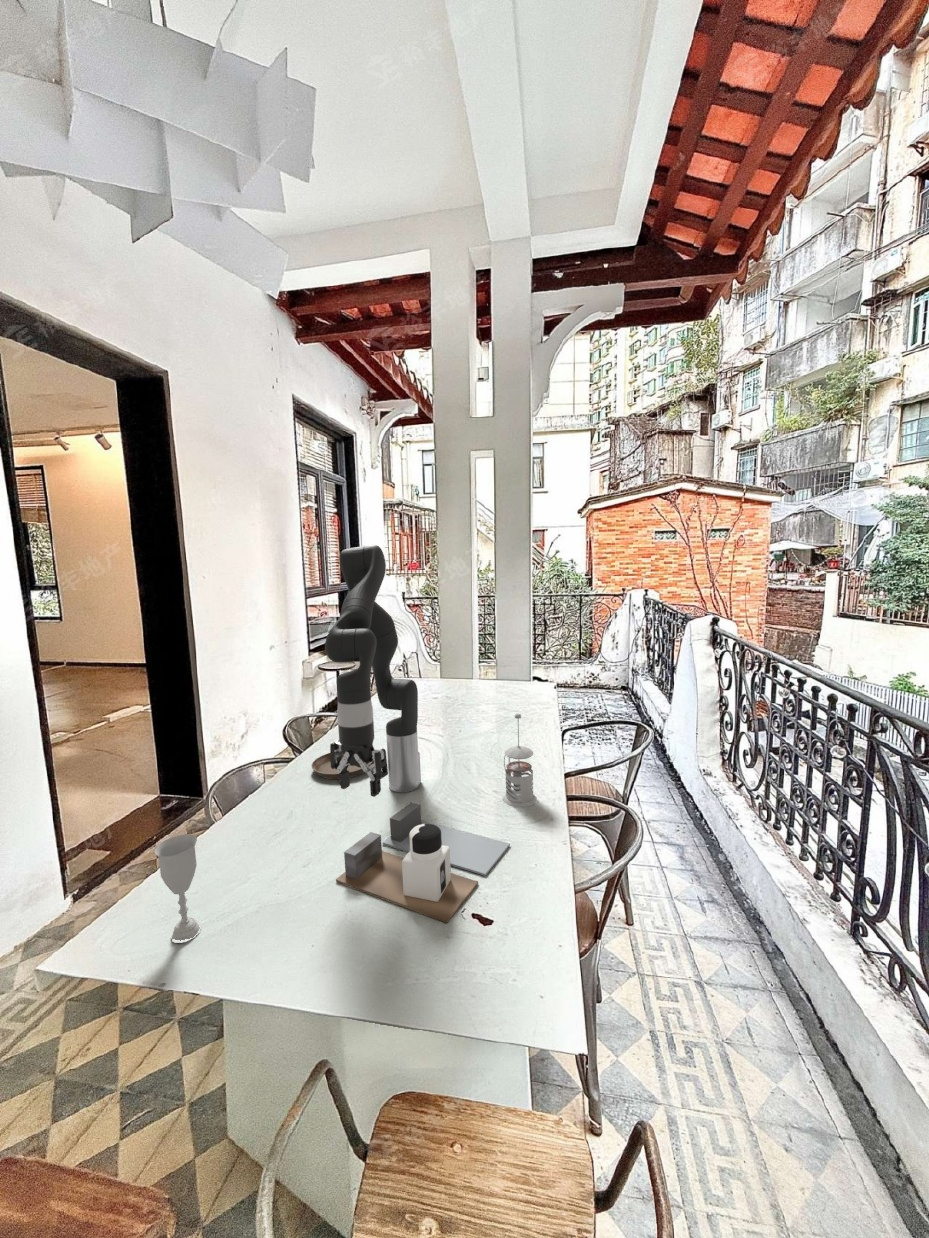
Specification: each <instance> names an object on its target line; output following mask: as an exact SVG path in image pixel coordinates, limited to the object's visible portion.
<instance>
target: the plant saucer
mask: <svg viewBox="0 0 929 1238" xmlns="http://www.w3.org/2000/svg"><path fill="white" fill-rule="evenodd" d="M343 756H344V755H343V753H342V758H343ZM373 757H374V756H373ZM336 762H337V758H336ZM370 765H371V763H370V762H369V763H368V764H367V766H370ZM311 769H312V771H313V772H314V773H316V775H318V776H319V777H321V778H324V779H328V780H339V773H338V772H337V770H336V769H335V768H334V769H332V768H331V760H330V752H328V753H325V754H322V755H320V756H319V757H317V758H315V759H314V760H313V761H312V763H311ZM347 770H349V779H350V778H355V777H357V776H360V775H362V774H363V773H365V772H364V771H363V769H362V768H360V767H357V766H351V765H350V766H349V768H348V769H347Z"/></svg>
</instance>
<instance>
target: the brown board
mask: <svg viewBox="0 0 929 1238" xmlns="http://www.w3.org/2000/svg"><path fill="white" fill-rule="evenodd" d="M382 845H383V843H382V835H381V834H379V833H375V832H373V831H372V832H371V831H370V832H369V833H367V834H366V835H365V836H364V837H362V838H361V839H359V840H358V841H357V842H355V843H354V844H353V845H351V846H350V847H349V848H348V849H346V850H345V851H344V852H343V853H344V854H343V855H344V856H343V857H344V868H345V871H344V872H343V873H342V874H341V875H339V876H338V877H337V878H335V881H336V883H338V884H342V885H344V886H348V887H349V888H351V889H355V890H358V891H360V892H363V893H366V894H367V895H368V894H369V895H372V896H373V897H376V898H379V899H382V900H385V901H387V902H390V903H392V904H395V905H398V906H400V907H403V908H405V909H408V910H411V911H414V912H416V913H419V914H422V915H423V916H426V917H429V918H432V919H435V920H438V921H440V922H443V923H448V922H449V921H450V920H451V918H452V917H453V916H454V915H455V914H456V912H458V911H457V910H459V908H460V907H461V906H462V905H463V903H464V902H465V901H466V900H467V899H468V897H469V896H470V895H471V893H472V892H473V891H474V890H475V889H476V887H477V886H478V885H479V881H477V880H475V879H472V878H468V877H464V876H462V875H459V874H455V873H453V872H451V880H450V882H449V884H448V885H447V887H446V889H445V891H444V892H443V894H442V896H441V898H440V899H439V901H438V902H435V901H430V900H425V899H420V898H415V897H410V896H405V895H404V891H403V873H402V860H403V859H404V858H405V857H402V856H399V855H395V854H392V853H390V852H386V851H383V848H382Z"/></svg>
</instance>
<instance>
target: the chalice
mask: <svg viewBox="0 0 929 1238" xmlns="http://www.w3.org/2000/svg"><path fill="white" fill-rule="evenodd" d="M197 841H198V838H197V836H195V835H194V834H187V833H186V834H178V835H175V836H172V837H170V838H168V839H165V840H164V841H162V842H160V843H158V845H157V846H156V848H155V849H154V854H155V855H156V856H157V858H158V865H159V872H160V873H159V874H160V878H161V879H162V881H163V882H164V884H165V886H166V887H167V888H168V889H169V890H170V891H171V893H172V894H174V895H178V900H177V904H178V905H179V907H180V908H179V910H178V914H179V915H180V916H181V920H179V921H178V922H177V923H176V924H175V926H174V928H173V929H174V930H173V931H172V935H171V937H172V939H175V940H180V941H181V940H185V939H190V938H193V937H194V936H195V935H196V934H197V933H198V931H199V929H200V927H201V926H200V925H199V923H198V922H197V920H196V919H195V918H192V917H188V912H189V909H190V908H189V907H187V905H186V904H187V901H188V898H186V895H185V893H186V892H187V891H188V890H189V889H190V888H191V885H192V882H193V879H194V877H195V873H196V871H197V866H198V865H197V856H196V847H195V846H196V844H197ZM199 926H200V927H199Z"/></svg>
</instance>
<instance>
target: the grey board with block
mask: <svg viewBox="0 0 929 1238" xmlns="http://www.w3.org/2000/svg"><path fill="white" fill-rule="evenodd" d="M421 807H422V806H421V804H420V803H415V802H412V801H410V802H409V803H407V804H406V805H405V806H404V807H402V808H401V809H400V810H399V811H397V812H396V813H395V814H393V815H392V816H391V817H390V818H389V827H390V835H389V836H388V837H387V838H386V839H385V840H384V841H382V845H384V846H387V847H391V848H394V849H397V850H400V851H403V852H407V853H409V851H410V836H409V834H410V831H411V830H412V829H413V828H414V827H416V826H418V825H421V824H433V825H436V826H437V827H439V828H440V830H441V839H442V845H444V846H449V847H450V867H455V868H457V869H461V870H464V871H468V872H471V873H474V874H478V875H481V876H484V877H486V876H487V875H488V874H489V873H490V871H491V870H492V869H493V868H494V866H495V865H496V863H498V861H499V860H500V859H501V857H502V856H503V855H504V853H506V851H507V850H508V849H509V848H510V846H511V843H509V842H505V841H502V840H498V839H494V838H490V837H486V836H482V835H479V834H476V833H472V832H468V831H465V830H460V829H457V828H453V827H449V826H445V825H442V824H440V823H439V824H438V823H434V822H432V821H431V822H430V821H427V820H423V819H422V809H421Z"/></svg>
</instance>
